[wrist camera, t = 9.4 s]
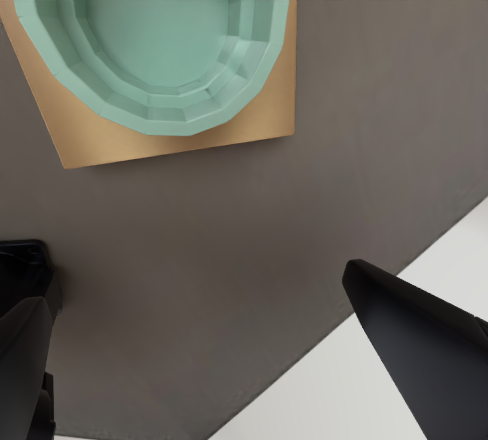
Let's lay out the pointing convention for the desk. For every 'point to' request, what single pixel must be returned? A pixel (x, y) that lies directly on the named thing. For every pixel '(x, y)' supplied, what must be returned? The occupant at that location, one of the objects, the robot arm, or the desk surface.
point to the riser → (141, 145)
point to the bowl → (159, 56)
